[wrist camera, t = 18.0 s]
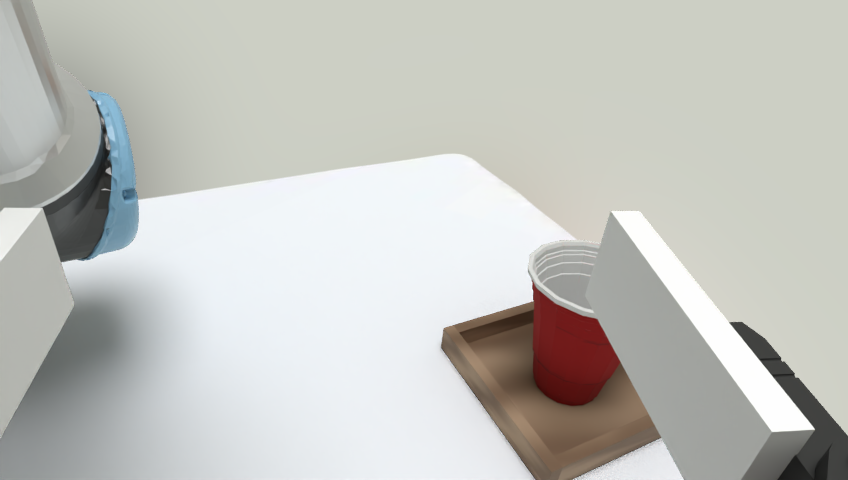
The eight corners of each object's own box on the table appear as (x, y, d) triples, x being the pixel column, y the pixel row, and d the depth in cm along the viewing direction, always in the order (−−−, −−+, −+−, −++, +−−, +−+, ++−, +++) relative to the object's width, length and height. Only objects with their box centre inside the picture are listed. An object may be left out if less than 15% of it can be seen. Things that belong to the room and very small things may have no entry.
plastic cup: (613, 341, 56) (651, 238, 49) (642, 436, 47) (692, 325, 40) (500, 330, 56) (522, 225, 49) (507, 422, 47) (535, 309, 40)
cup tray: (441, 347, 54) (443, 328, 53) (575, 305, 61) (580, 287, 59) (544, 492, 43) (551, 472, 41) (696, 420, 49) (706, 402, 48)
